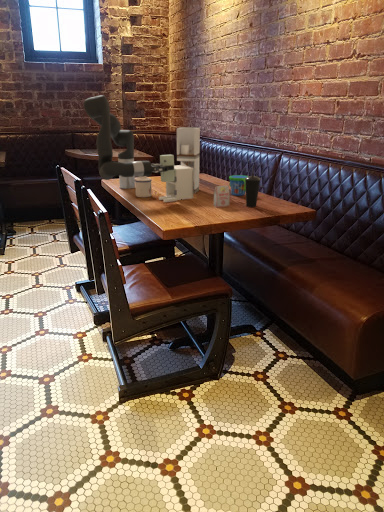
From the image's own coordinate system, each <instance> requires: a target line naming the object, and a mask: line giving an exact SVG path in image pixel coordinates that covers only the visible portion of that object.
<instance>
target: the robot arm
mask: <svg viewBox="0 0 384 512" xmlns="http://www.w3.org/2000/svg"><path fill="white" fill-rule="evenodd" d="M83 108H84V111H85V113H86V115H87V116H88V118H90V119H91V120H93V121H94V122H96V124H97V125H99V126H100V129H99V130H98V131H99V132H98V133H97V136H96V143H95V144H96V149H97V157H98V160H97V161H98V172H99V175H100V177H101V179H103V180H106V181H109V180H112V179H113V178H114V177H115V176H118V177H119V179H118V180H119V188H120V189H127V190H128V189H134V188H135V189H136V187H135V179H136V178H139V177H143V176H146V177H150V176H152V173H154V174H155V173H156V174H157V173H161V172H165V171H168V170H174V166H175V164H174V165H169V166H167V165H166V166H163V165H160V163H151V161H150V160H136V161H135V156H134V155H135V136H134V132H133V130H129V129H122V126H121V125H122V124H121V122H120V120H119V119H118V118H117V116H116V115H115V114H114V113H111V109H110V103H109V100H108V98H107V97H106V95H104V94H102V95H96V96H92V97H88V98H85V100H83ZM112 141H113V143H114V144H115V145H116V146H118V147H126V149H125V150H124V151H121V152H119V153H118V154H117V157H118V158H117V161H115V160H113V157H114V154H113V153H114V151H113V145H112ZM112 160H113V161H112Z"/></svg>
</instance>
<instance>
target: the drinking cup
mask: <svg viewBox="0 0 384 512" xmlns="http://www.w3.org/2000/svg"><path fill="white" fill-rule="evenodd" d="M251 170H252V171H251V175H250V176H248V177H247V178H245V186H246V191H245V204H246V207H247V208H256V207H257V202H258V196H259V189H260V182H261V178H260V177H258V176H255V175H254V174H255V173H254V172H255V165H252V169H251Z"/></svg>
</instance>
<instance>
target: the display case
mask: <svg viewBox="0 0 384 512" xmlns="http://www.w3.org/2000/svg"><path fill="white" fill-rule="evenodd" d="M200 130H201V127H177V128H176V161H177V162H180V165H184V166H188V167H191V168H193V194H197V192H198V191H199V190H200V148H201V145H200V144H201V143H200V142H201V138H200V137H201V134H200V133H201V131H200Z"/></svg>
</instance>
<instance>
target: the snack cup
mask: <svg viewBox="0 0 384 512" xmlns="http://www.w3.org/2000/svg"><path fill="white" fill-rule="evenodd" d="M247 177H249V176H248V175H244V174H243V175H241V174H240V175H239V174H235V175H230V176H228V180H229V185H228V186H229V187H230V193H231V195H232V196H245V195H246V186H245V178H247Z"/></svg>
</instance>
